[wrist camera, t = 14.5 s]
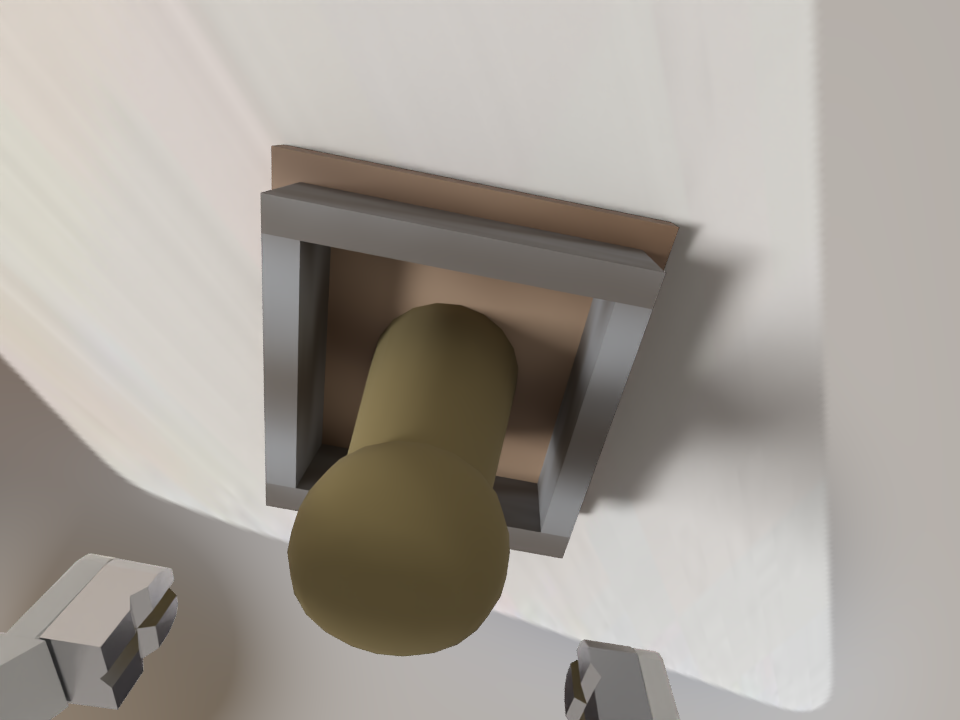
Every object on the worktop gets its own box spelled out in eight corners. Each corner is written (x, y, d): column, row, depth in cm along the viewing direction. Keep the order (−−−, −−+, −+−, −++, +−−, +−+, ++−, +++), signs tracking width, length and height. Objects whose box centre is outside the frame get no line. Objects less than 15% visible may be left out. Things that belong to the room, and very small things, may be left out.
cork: (415, 273, 18) (309, 447, 8) (547, 352, 20) (590, 585, 10) (348, 391, 21) (205, 634, 11) (470, 455, 22) (440, 727, 12)
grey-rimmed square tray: (283, 144, 18) (225, 150, 14) (670, 222, 18) (710, 247, 14) (282, 459, 24) (242, 519, 20) (569, 511, 24) (579, 579, 21)
